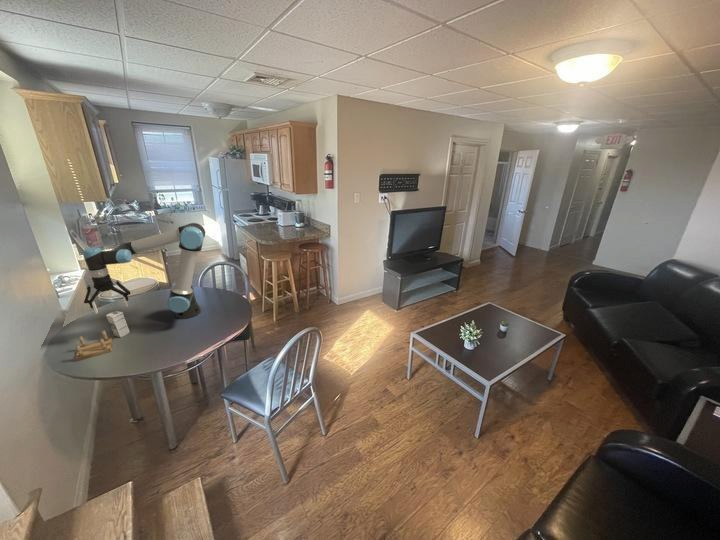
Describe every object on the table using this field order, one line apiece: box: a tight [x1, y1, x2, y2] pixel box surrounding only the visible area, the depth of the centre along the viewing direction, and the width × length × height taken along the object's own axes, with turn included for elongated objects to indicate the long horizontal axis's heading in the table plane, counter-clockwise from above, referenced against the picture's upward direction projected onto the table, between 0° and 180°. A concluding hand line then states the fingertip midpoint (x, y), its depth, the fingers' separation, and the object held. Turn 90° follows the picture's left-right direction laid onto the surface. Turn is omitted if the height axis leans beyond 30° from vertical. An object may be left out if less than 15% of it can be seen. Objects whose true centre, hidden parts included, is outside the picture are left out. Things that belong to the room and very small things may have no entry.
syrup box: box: [105, 310, 130, 338], centre depth 169 cm, size 6×6×14 cm
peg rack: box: [74, 329, 114, 362], centre depth 156 cm, size 12×14×8 cm
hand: (112, 309), depth 165 cm, fingers open, 13 cm apart
